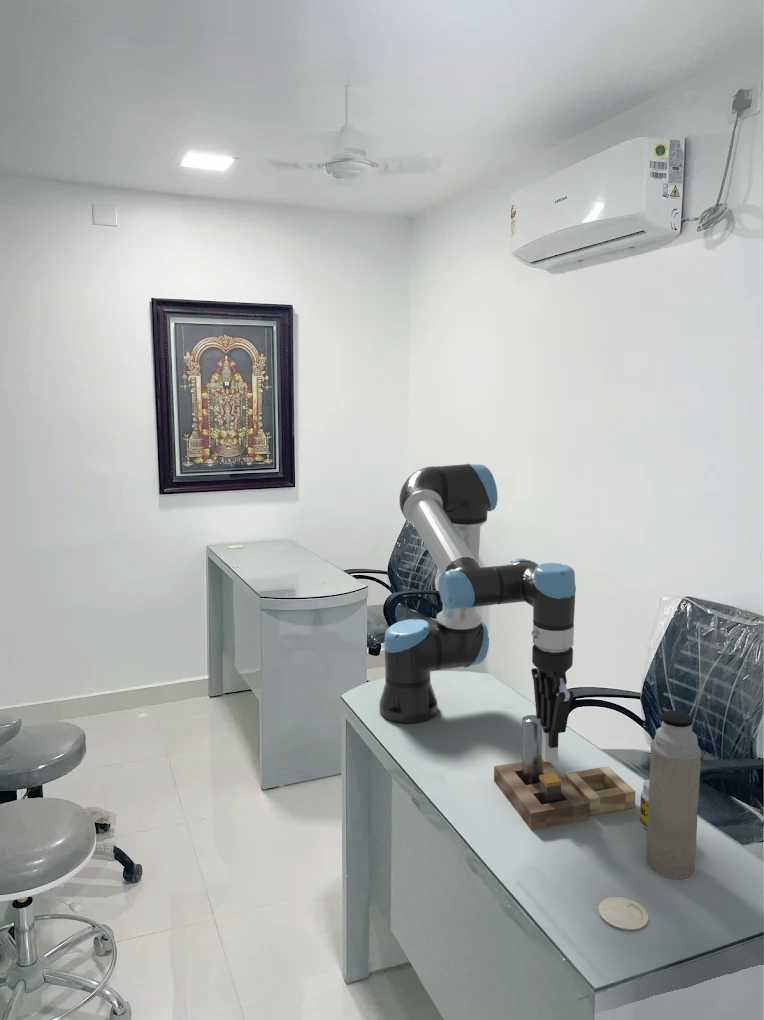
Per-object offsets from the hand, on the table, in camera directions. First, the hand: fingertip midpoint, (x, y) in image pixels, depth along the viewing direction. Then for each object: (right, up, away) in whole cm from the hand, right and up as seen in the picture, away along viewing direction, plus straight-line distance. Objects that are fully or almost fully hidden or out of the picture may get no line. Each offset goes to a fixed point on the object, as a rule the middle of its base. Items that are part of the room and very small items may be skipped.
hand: (549, 759), depth 144 cm
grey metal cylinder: (-2, -10, +9) cm, 14 cm away
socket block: (-1, -10, +6) cm, 12 cm away
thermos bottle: (+18, -14, -14) cm, 27 cm away
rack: (+12, -10, +6) cm, 17 cm away
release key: (0, -10, +1) cm, 11 cm away
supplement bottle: (+19, -12, -3) cm, 23 cm away
